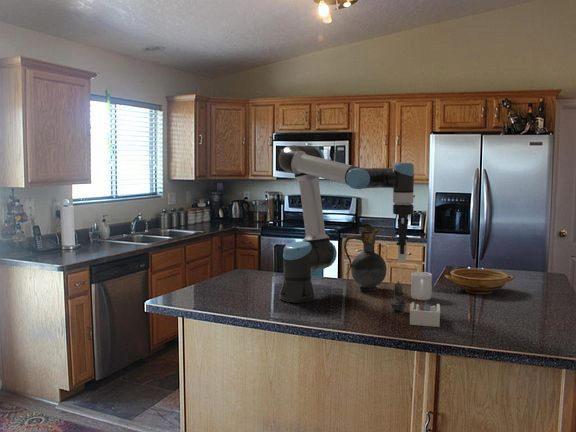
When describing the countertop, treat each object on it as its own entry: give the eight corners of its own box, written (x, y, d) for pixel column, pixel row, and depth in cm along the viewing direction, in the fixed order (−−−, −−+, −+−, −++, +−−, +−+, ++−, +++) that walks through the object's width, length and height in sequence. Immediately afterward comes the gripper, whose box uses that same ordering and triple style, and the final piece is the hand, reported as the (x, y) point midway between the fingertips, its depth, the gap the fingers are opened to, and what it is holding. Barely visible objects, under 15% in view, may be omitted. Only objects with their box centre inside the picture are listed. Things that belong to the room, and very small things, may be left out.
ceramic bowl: (451, 297, 220) (452, 278, 219) (438, 284, 244) (438, 267, 243) (523, 298, 218) (524, 279, 218) (503, 285, 242) (503, 268, 242)
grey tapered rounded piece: (388, 310, 200) (388, 279, 199) (403, 310, 201) (403, 279, 200) (392, 314, 194) (393, 282, 193) (408, 314, 195) (408, 282, 194)
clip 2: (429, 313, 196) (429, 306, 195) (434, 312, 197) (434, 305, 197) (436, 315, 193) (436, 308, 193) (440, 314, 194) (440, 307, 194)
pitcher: (388, 292, 229) (389, 224, 227) (344, 292, 229) (345, 224, 227) (383, 286, 240) (384, 221, 237) (342, 286, 240) (342, 222, 238)
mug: (433, 303, 211) (433, 278, 210) (412, 302, 212) (412, 277, 211) (430, 296, 223) (430, 272, 222) (410, 295, 224) (410, 271, 223)
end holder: (409, 324, 182) (409, 310, 181) (411, 315, 193) (411, 302, 193) (439, 326, 179) (439, 312, 179) (439, 317, 191) (439, 303, 190)
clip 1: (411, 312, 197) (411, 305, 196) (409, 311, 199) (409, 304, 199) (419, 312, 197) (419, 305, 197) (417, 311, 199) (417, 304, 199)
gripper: (413, 206, 184) (412, 265, 186) (413, 201, 208) (412, 254, 210) (391, 206, 186) (390, 264, 188) (394, 201, 210) (393, 253, 212)
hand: (402, 259), depth 199 cm, fingers open, 13 cm apart
